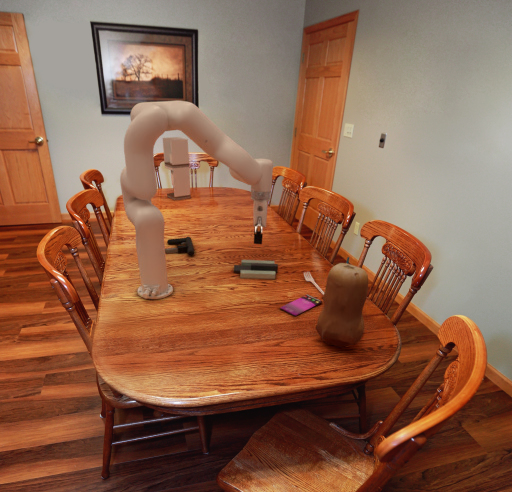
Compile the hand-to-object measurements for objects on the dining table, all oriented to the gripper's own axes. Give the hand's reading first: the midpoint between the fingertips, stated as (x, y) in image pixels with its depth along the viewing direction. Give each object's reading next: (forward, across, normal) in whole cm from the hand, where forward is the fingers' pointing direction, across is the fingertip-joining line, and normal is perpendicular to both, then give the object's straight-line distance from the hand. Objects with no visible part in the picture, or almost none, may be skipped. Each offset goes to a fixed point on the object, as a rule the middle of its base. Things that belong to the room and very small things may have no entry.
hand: (257, 239), depth 158 cm
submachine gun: (+15, +22, +36) cm, 45 cm away
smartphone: (+14, -29, -16) cm, 36 cm away
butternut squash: (+14, -52, -25) cm, 59 cm away
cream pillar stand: (+14, +116, +52) cm, 128 cm away
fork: (+14, -12, -23) cm, 29 cm away
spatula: (+13, 0, -1) cm, 13 cm away
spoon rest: (+14, 0, -1) cm, 14 cm away
